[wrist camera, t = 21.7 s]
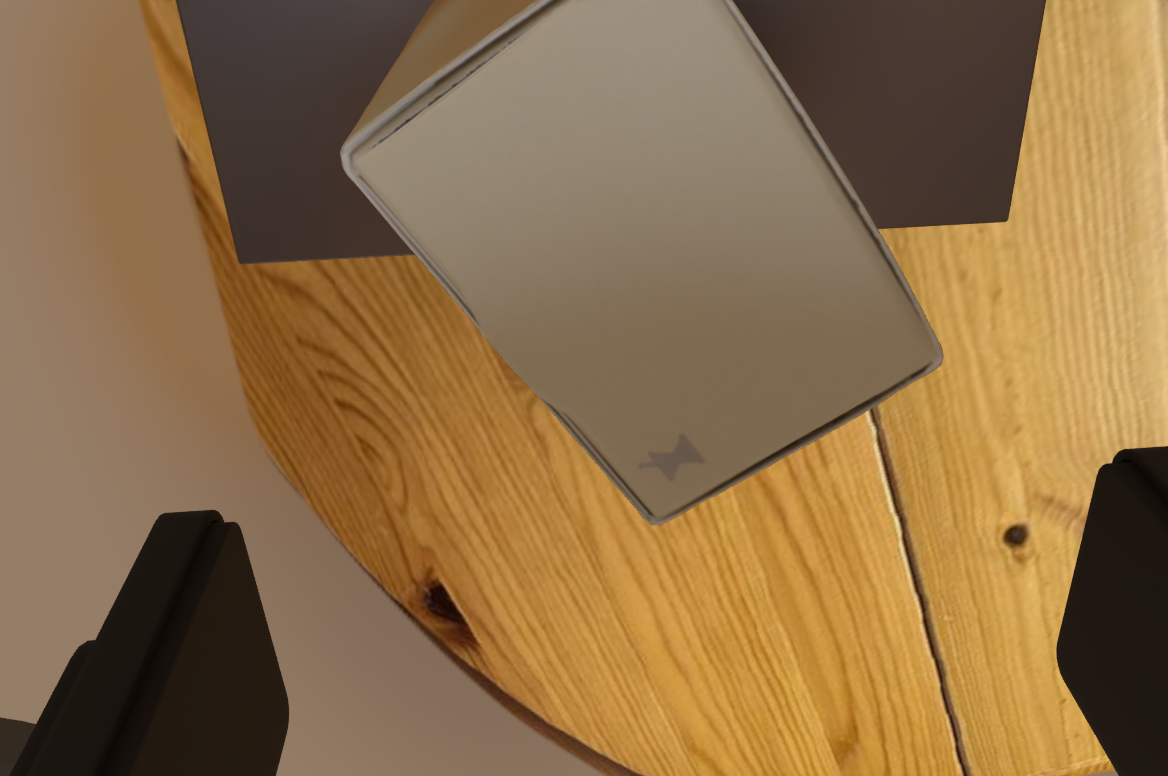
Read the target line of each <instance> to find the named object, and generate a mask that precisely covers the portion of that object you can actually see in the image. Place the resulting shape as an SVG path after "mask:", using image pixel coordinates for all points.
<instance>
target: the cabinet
mask: <svg viewBox="0 0 1168 776" xmlns="http://www.w3.org/2000/svg"><path fill="white" fill-rule="evenodd" d="M432 2H433V0H176V3H177V7H178V11H179V15H180V20H181V24H182V28H183V32H184V36H185V40H186V45H187V49H188V53H189V57H190V61H191V65H192V70H193V74H194V78H195V82H196V86H197V90H198V95H199V99H200V103H201V107H202V111H203V116H204V120H205V124H206V128H207V132H208V136H209V141H210V145H211V149H212V153H213V157H214V161H215V166H216V170H217V174H218V178H219V182H220V186H221V191H222V195H223V199H224V203H225V207H226V211H227V216H228V220H229V224H230V228H231V232H232V236H233V241H234V245H235V249H236V253H237V257H238V261H239V263H240V264H259V263H277V262H295V261H313V260H331V259H349V258H367V257H385V256H402V255H415V254H414V253H413V251H412V250H411V249H410V248H409V247H408V246H407V244H406V243H405V242H404V241H403V240H402V239H401V237H400V236H399V235H398V234H397V233H396V231H395V230H394V229H393V228H392V227H391V225H390V224H389V223H388V222H387V221H386V220H385V218H384V217H383V216H382V215H381V214H380V212H379V211H378V210H377V209H376V208H375V206H374V205H373V204H372V203H371V202H370V200H369V199H368V198H367V197H366V196H365V194H364V193H363V192H362V191H361V190H360V188H359V187H358V186H357V185H356V184H355V183H354V182H353V181H352V180H351V179H350V178H349V177H348V175H347V174H346V172H345V170H344V169H343V166H342V161H341V155H340V151H341V148H342V146H343V144H344V142H345V141H346V139H347V138H348V136H349V135H350V133H351V132H352V130H353V129H354V127H355V126H356V124H357V123H358V121H359V119H360V118H361V116H362V114H363V112H364V111H365V109H366V108H367V106H368V105H369V104H370V102H371V100H372V99H373V97H374V95H375V93H376V92H377V90H378V88H379V87H380V85H381V83H382V82H383V80H384V79H385V77H386V76H387V74H388V72H389V71H390V69H391V68H392V66H393V65H394V63H395V62H396V60H397V58H398V57H399V55H400V54H401V52H402V51H403V49H404V47H405V45H406V44H407V42H408V41H409V39H410V37H411V35H412V34H413V32H414V30H415V28H416V27H417V25H418V24H419V22H420V21H421V19H422V18H423V16H424V15H425V13H426V12H427V10H428V8H429V7H430V5H431V4H432ZM733 2H734V3H735V5H736V6H737V8H738V9H739V11H740V12H741V13H742V15H743V17H744V18H745V20H746V21H747V23H748V24H749V26H750V27H751V29H752V30H753V32H754V33H755V35H756V36H757V38H758V39H759V41H760V42H761V44H762V45H763V47H764V49H765V50H766V52H767V53H768V55H769V56H770V58H771V59H772V61H773V62H774V64H775V65H776V67H777V68H778V70H779V71H780V73H781V74H782V76H783V78H784V79H785V81H786V82H787V84H788V85H789V87H790V88H791V90H792V91H793V93H794V94H795V96H796V97H797V99H798V100H799V102H800V103H801V105H802V107H803V108H804V110H805V111H806V113H807V115H808V116H809V118H810V119H811V121H812V123H813V124H814V126H815V127H816V129H817V131H818V132H819V134H820V135H821V137H822V139H823V140H824V142H825V143H826V145H827V147H828V148H829V150H830V151H831V153H832V155H833V156H834V158H835V159H836V161H837V162H838V164H839V166H840V167H841V169H842V170H843V172H844V174H845V175H846V177H847V178H848V180H849V182H850V183H851V185H852V187H853V189H854V190H855V192H856V194H857V195H858V197H859V199H860V200H861V202H862V204H863V205H864V207H865V209H866V210H867V212H868V214H869V215H870V217H871V219H872V220H873V222H874V224H875V225H876V227H877V229H887V228H905V227H923V226H941V225H959V224H977V223H995V222H1006V221H1007V220H1008V217H1009V212H1010V206H1011V200H1012V194H1013V188H1014V183H1015V177H1016V171H1017V165H1018V160H1019V154H1020V148H1021V142H1022V136H1023V131H1024V125H1025V119H1026V113H1027V108H1028V102H1029V96H1030V90H1031V84H1032V79H1033V73H1034V67H1035V61H1036V55H1037V50H1038V44H1039V38H1040V32H1041V27H1042V21H1043V15H1044V9H1045V3H1046V0H733Z"/></svg>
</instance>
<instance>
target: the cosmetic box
mask: <svg viewBox="0 0 1168 776" xmlns="http://www.w3.org/2000/svg"><path fill="white" fill-rule="evenodd" d="M340 155H341V161H342V166H343V169H344V170H345V172H346V174H347V175H348V177H349V178H350V179H351V180H352V181H353V182H354V183H355V184H356V185H357V186H358V187H359V188H360V190H361V191H362V192H363V193H364V194H365V196H366V197H367V198H368V199H369V200H370V202H371V203H372V204H373V205H374V206H375V208H376V209H377V210H378V211H379V212H380V214H381V215H382V216H383V217H384V218H385V220H386V221H387V222H388V223H389V224H390V225H391V227H392V228H393V229H394V230H395V231H396V233H397V234H398V235H399V236H400V237H401V239H402V240H403V241H404V242H405V243H406V244H407V246H408V247H409V248H410V249H411V250H412V251H413V253H414V254H415V255H416V256H417V257H418V258H419V259H420V261H421V262H422V263H423V264H424V265H425V266H426V268H427V269H428V270H429V271H430V272H431V273H432V275H433V276H434V277H435V278H436V279H437V280H438V282H439V283H440V284H441V285H442V286H443V287H444V289H445V290H446V291H447V292H448V293H449V295H450V296H451V297H452V298H453V299H454V300H455V301H456V302H457V303H458V304H459V305H460V307H461V308H462V309H463V311H464V312H465V313H466V314H467V316H468V317H469V318H470V319H471V321H472V322H473V323H474V324H475V326H476V327H477V328H478V329H479V330H480V332H481V333H482V334H483V335H484V336H485V338H486V339H487V340H488V341H489V342H490V344H491V345H492V346H493V347H494V348H495V350H496V351H497V352H498V353H499V354H500V355H501V357H502V358H503V359H504V360H505V361H506V363H507V364H508V365H509V366H510V367H511V369H512V370H513V371H514V372H515V373H516V374H517V375H518V376H519V377H520V378H521V379H522V380H523V381H524V382H525V383H526V384H527V386H528V387H529V388H530V389H531V390H532V391H533V392H534V393H535V394H536V395H537V396H538V397H539V398H540V400H541V401H542V402H543V403H544V404H545V405H546V406H547V407H548V408H549V409H550V410H551V411H552V413H553V414H554V415H555V416H556V417H557V419H558V420H559V421H560V422H561V423H562V425H563V426H564V427H565V428H566V429H567V431H568V432H569V433H570V434H571V435H572V436H573V438H574V439H575V440H576V441H577V442H578V444H579V445H580V446H581V447H582V448H583V449H584V450H585V451H586V452H587V454H588V455H589V456H590V457H591V458H592V459H593V460H594V461H595V463H596V464H597V465H598V466H599V467H600V468H601V470H602V471H603V472H604V473H605V474H606V476H607V477H608V478H609V479H610V480H611V481H612V482H613V484H614V485H615V486H616V487H617V488H618V489H619V490H620V491H621V492H622V494H623V495H624V496H625V497H626V498H627V499H628V500H629V501H630V503H631V504H632V505H633V506H634V507H635V508H636V509H637V511H638V512H639V514H640V515H641V516H642V518H643V519H644V520H646V521H647V522H648V523H649V524H651V525H658V526H660V525H662V524H664V523H666V522H668V521H670V520H672V519H674V518H676V517H678V516H679V515H681V514H683V513H685V512H686V511H688V510H689V509H691V508H693V507H694V506H696V505H698V504H699V503H701V502H703V501H705V500H707V499H710V498H712V497H714V496H716V495H718V494H720V493H722V492H724V491H725V490H727V489H728V488H730V487H732V486H734V485H735V484H737V483H739V482H741V481H743V480H745V479H747V478H749V477H751V476H752V475H754V474H756V473H758V472H760V471H762V470H763V469H765V468H767V467H769V466H770V465H772V464H774V463H776V462H777V461H779V460H781V459H782V458H784V457H786V456H788V455H790V454H792V453H794V452H796V451H797V450H799V449H801V448H803V447H805V446H807V445H809V444H811V443H812V442H814V441H816V440H818V439H819V438H821V437H823V436H825V435H826V434H828V433H830V432H832V431H833V430H835V429H837V428H839V427H840V426H842V425H844V424H846V423H848V422H849V421H851V420H853V419H855V418H856V417H858V416H860V415H862V414H863V413H865V412H866V411H868V410H870V409H871V408H873V407H875V406H877V405H879V404H880V403H882V402H883V401H885V400H886V399H888V398H889V397H890V396H892V395H893V394H895V393H896V392H897V391H899V390H901V389H903V388H905V387H906V386H908V385H909V384H911V383H913V382H915V381H917V380H918V379H920V378H922V377H924V376H926V375H927V374H929V373H931V372H932V371H934V370H935V369H937V368H938V367H939V366H941V364H942V360H943V357H944V356H943V351H942V347H941V345H940V343H939V341H938V339H937V337H936V335H935V333H934V331H933V330H932V328H931V326H930V324H929V322H928V320H927V318H926V316H925V314H924V312H923V310H922V308H921V306H920V305H919V303H918V301H917V299H916V297H915V295H914V293H913V291H912V289H911V287H910V285H909V283H908V282H907V280H906V278H905V276H904V274H903V272H902V271H901V269H900V267H899V265H898V263H897V261H896V260H895V258H894V256H893V254H892V252H891V251H890V249H889V247H888V245H887V244H886V242H885V240H884V239H883V237H882V235H881V234H880V232H879V230H878V229H877V227H876V225H875V224H874V222H873V220H872V219H871V217H870V215H869V214H868V212H867V210H866V209H865V207H864V205H863V204H862V202H861V200H860V199H859V197H858V195H857V194H856V192H855V190H854V189H853V187H852V185H851V183H850V182H849V180H848V178H847V177H846V175H845V174H844V172H843V170H842V169H841V167H840V166H839V164H838V162H837V161H836V159H835V158H834V156H833V155H832V153H831V151H830V150H829V148H828V147H827V145H826V143H825V142H824V140H823V139H822V137H821V135H820V134H819V132H818V131H817V129H816V127H815V126H814V124H813V123H812V121H811V119H810V118H809V116H808V115H807V113H806V111H805V110H804V108H803V107H802V105H801V103H800V102H799V100H798V99H797V97H796V96H795V94H794V93H793V91H792V90H791V88H790V87H789V85H788V84H787V82H786V81H785V79H784V78H783V76H782V74H781V73H780V71H779V70H778V68H777V67H776V65H775V64H774V62H773V61H772V59H771V58H770V56H769V55H768V53H767V52H766V50H765V49H764V47H763V45H762V44H761V42H760V41H759V39H758V38H757V36H756V35H755V33H754V32H753V30H752V29H751V27H750V26H749V24H748V23H747V21H746V20H745V18H744V17H743V15H742V13H741V12H740V11H739V9H738V8H737V6H736V5H735V3H734V2H733V0H433V2H432V4H431V5H430V7H429V8H428V10H427V12H426V13H425V15H424V16H423V18H422V19H421V21H420V22H419V24H418V25H417V27H416V28H415V30H414V32H413V34H412V35H411V37H410V39H409V41H408V42H407V44H406V45H405V47H404V49H403V51H402V52H401V54H400V55H399V57H398V58H397V60H396V62H395V63H394V65H393V66H392V68H391V69H390V71H389V72H388V74H387V76H386V77H385V79H384V80H383V82H382V83H381V85H380V87H379V88H378V90H377V92H376V93H375V95H374V97H373V99H372V100H371V102H370V104H369V105H368V106H367V108H366V109H365V111H364V112H363V114H362V116H361V118H360V119H359V121H358V123H357V124H356V126H355V127H354V129H353V130H352V132H351V133H350V135H349V136H348V138H347V139H346V141H345V142H344V144H343V146H342V148H341V151H340Z"/></svg>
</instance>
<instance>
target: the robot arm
mask: <svg viewBox="0 0 1168 776" xmlns="http://www.w3.org/2000/svg"><path fill="white" fill-rule="evenodd" d="M1056 651H1057V662H1058V667H1059V670H1060V673H1061V676H1062V678H1063V680H1064V682H1065V683H1066V685H1067V687H1068V689H1069V690H1070V692H1071V694H1072V696H1073V697H1074V699H1075V701H1076V702H1077V704H1078V706H1079V708H1080V709H1081V711H1082V713H1083V715H1084V716H1085V718H1086V720H1087V721H1088V723H1089V725H1090V727H1091V728H1092V730H1093V732H1094V734H1095V735H1096V737H1097V739H1098V740H1099V742H1100V744H1101V746H1102V747H1103V749H1104V751H1105V753H1106V754H1107V756H1108V758H1109V760H1110V761H1111V763H1112V765H1113V766H1114V768H1115V770H1116V772H1117V773H1118V775H1119V776H1168V446H1165V447H1150V448H1135V449H1124V450H1121V451H1119V452H1118V453H1117V454H1116V456H1115V457H1114V459H1113V462H1112V463H1110V464H1105V465H1103V466H1102V467H1101V468H1100V469H1099V472H1098V474H1097V478H1096V482H1095V486H1094V490H1093V494H1092V499H1091V503H1090V507H1089V511H1088V515H1087V520H1086V524H1085V528H1084V532H1083V536H1082V541H1081V545H1080V549H1079V553H1078V557H1077V562H1076V566H1075V570H1074V574H1073V579H1072V583H1071V587H1070V591H1069V595H1068V600H1067V604H1066V608H1065V612H1064V616H1063V621H1062V625H1061V629H1060V633H1059V637H1058V642H1057V649H1056ZM288 722H289V705H288V697H287V693H286V689H285V686H284V682H283V679H282V675H281V671H280V668H279V664H278V661H277V657H276V653H275V650H274V646H273V643H272V639H271V635H270V632H269V628H268V624H267V621H266V617H265V614H264V610H263V607H262V603H261V600H260V596H259V592H258V588H257V585H256V581H255V578H254V574H253V570H252V567H251V564H250V560H249V556H248V552H247V549H246V545H245V542H244V538H243V535H242V531H241V529H240V526H239V525H238V524H237V523H235V522H226V523H224V520H223V518H222V516H221V515H220V513H219V512H218V511H216V510H204V511H189V512H174V513H164V514H162V515H160V516H159V517H158V519H157V520H156V522H155V524H154V525H153V527H152V529H151V531H150V533H149V535H148V537H147V539H146V541H145V543H144V545H143V547H142V549H141V551H140V553H139V555H138V557H137V559H136V561H135V563H134V565H133V567H132V569H131V571H130V573H129V575H128V577H127V579H126V581H125V583H124V585H123V586H122V588H121V590H120V592H119V594H118V596H117V598H116V600H115V602H114V604H113V607H112V608H111V610H110V612H109V615H108V616H107V618H106V620H105V622H104V624H103V626H102V629H101V630H100V632H99V634H98V636H97V638H96V640H91V641H87V642H85V643H84V644H82V645H81V646H79V647H78V649H77V650H76V652H75V653H74V655H73V656H72V657H71V659H70V661H69V663H68V665H67V667H66V668H65V670H64V672H63V674H62V676H61V678H60V680H59V682H58V684H57V686H56V687H55V689H54V691H53V693H52V695H51V697H50V699H49V701H48V703H47V705H46V707H45V708H44V710H43V712H42V714H41V716H40V718H39V720H38V722H37V724H36V726H35V727H34V729H33V731H32V733H31V735H30V737H29V739H28V741H27V743H26V745H25V747H24V748H23V750H22V752H21V754H20V756H19V758H18V760H17V762H16V764H15V766H14V768H13V769H12V771H11V773H10V775H9V776H276V773H277V769H278V765H279V761H280V757H281V754H282V750H283V746H284V742H285V738H286V734H287V730H288Z"/></svg>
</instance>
